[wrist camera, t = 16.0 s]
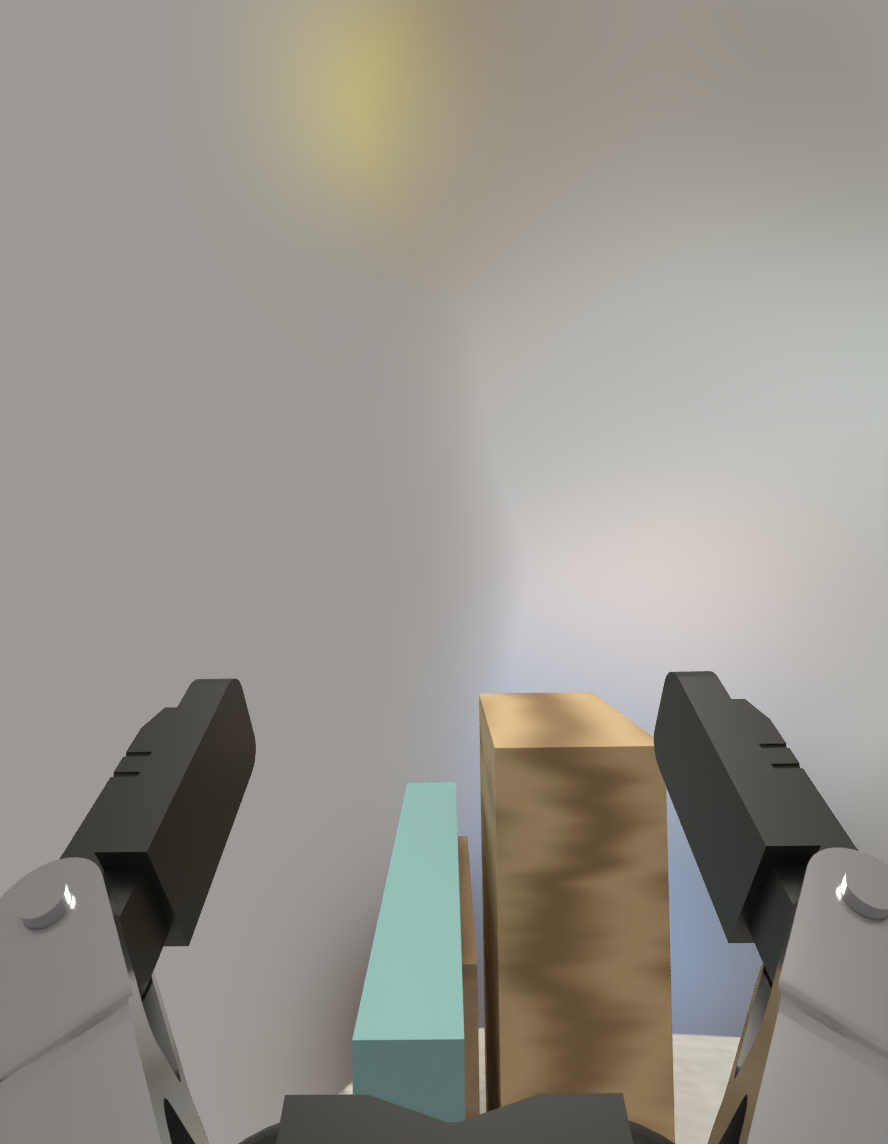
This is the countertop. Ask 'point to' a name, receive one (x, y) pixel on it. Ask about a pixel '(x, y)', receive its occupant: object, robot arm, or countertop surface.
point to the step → (469, 983)
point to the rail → (417, 968)
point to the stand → (574, 905)
